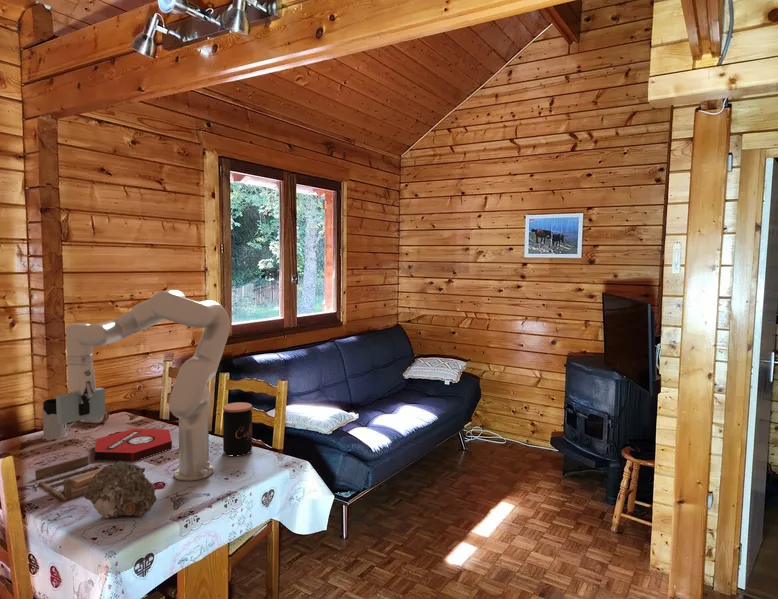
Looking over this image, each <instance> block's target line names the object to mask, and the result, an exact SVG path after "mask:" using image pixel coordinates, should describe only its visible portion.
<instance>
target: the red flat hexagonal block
mask: <svg viewBox="0 0 778 599" xmlns="http://www.w3.org/2000/svg"><path fill="white" fill-rule="evenodd" d="M170 433H171V432H170V430H169V429H164V428H162V429H161V428H160V429H159V428H158V429H157V428H131V429H127V430H124V431H119V432H116V433H113V434H110V435H109V434H108V435H106V436H102V437H98V438H96V439H95V440H96V441H95V446H94V461H110V462H111V461H112V462H119V461H122V462H137V461H140V460H142V459H141V458H143V459H145V458H144V457H146V458H148V457H147V456H149V457H151V456H150V455H152V456H154V455H153V454H155V455H157V454H156V453H158V454H160V453H159V452H161V453H163V452H162V451H164V452H166V451H165V450H167V451H169V450H168V449H170V450H172V449H173V441H172V436H171V434H170ZM171 448H172V449H171ZM139 459H140V460H139ZM136 460H137V461H136Z"/></svg>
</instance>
